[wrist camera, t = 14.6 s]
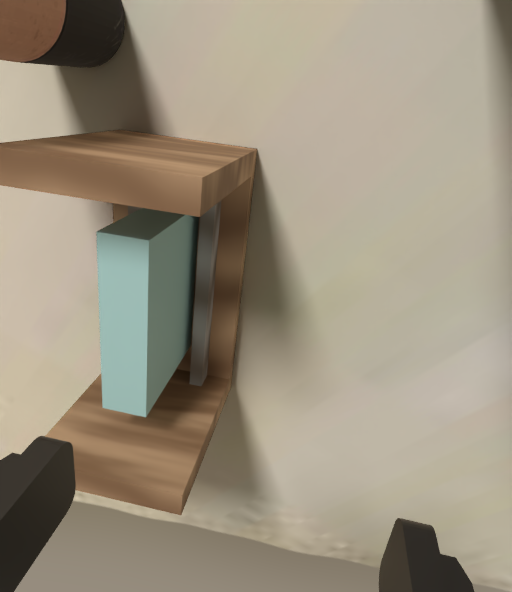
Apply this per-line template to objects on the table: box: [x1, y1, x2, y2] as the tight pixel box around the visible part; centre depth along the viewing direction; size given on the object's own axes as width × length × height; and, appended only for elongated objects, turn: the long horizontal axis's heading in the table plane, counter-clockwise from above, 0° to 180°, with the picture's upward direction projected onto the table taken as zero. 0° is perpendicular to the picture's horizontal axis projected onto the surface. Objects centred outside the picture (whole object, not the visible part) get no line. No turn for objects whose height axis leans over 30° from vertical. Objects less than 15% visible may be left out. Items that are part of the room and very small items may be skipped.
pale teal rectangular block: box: [97, 208, 199, 417], centre depth 36 cm, size 14×4×11 cm, turn 173°
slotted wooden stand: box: [0, 130, 257, 515], centre depth 35 cm, size 24×12×16 cm, turn 173°
